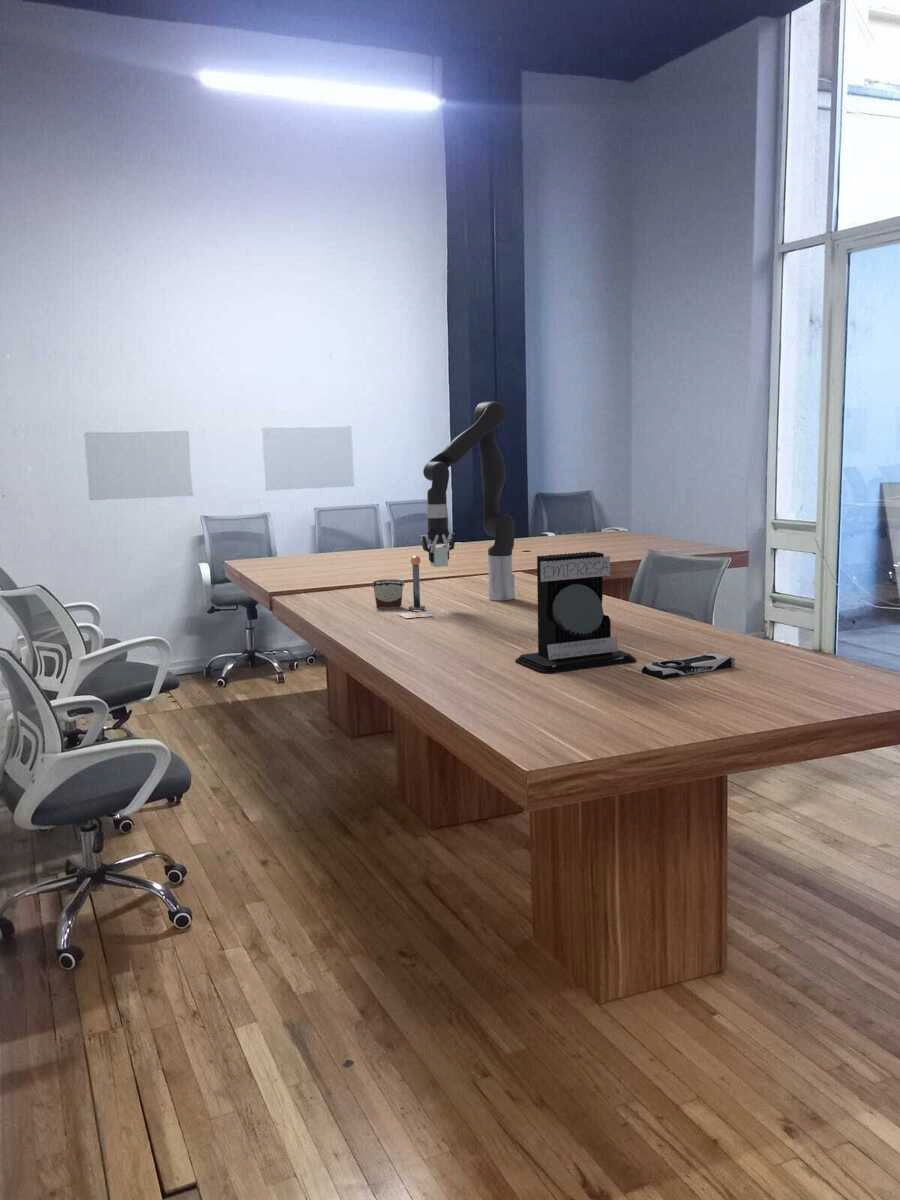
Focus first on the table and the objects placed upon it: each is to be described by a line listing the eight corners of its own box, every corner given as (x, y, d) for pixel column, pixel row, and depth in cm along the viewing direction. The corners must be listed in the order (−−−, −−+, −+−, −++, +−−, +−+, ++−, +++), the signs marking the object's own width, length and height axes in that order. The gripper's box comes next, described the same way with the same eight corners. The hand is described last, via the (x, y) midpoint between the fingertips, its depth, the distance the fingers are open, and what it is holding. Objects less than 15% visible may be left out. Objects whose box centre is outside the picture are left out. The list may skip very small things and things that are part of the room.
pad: (422, 612, 369) (422, 611, 369) (433, 616, 360) (433, 615, 360) (397, 614, 365) (396, 613, 365) (406, 619, 356) (406, 618, 356)
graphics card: (735, 656, 272) (662, 668, 261) (735, 669, 273) (662, 681, 261) (709, 650, 281) (637, 661, 269) (708, 662, 282) (637, 674, 270)
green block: (443, 564, 381) (442, 545, 380) (448, 565, 376) (447, 547, 375) (430, 565, 379) (429, 546, 378) (435, 567, 374) (434, 548, 373)
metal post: (421, 608, 378) (420, 554, 375) (427, 610, 373) (426, 556, 370) (406, 609, 376) (404, 555, 373) (412, 611, 371) (410, 557, 367)
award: (543, 675, 270) (542, 563, 265) (511, 661, 287) (509, 556, 282) (640, 662, 282) (640, 555, 277) (604, 649, 299) (603, 548, 294)
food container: (407, 604, 386) (406, 578, 385) (405, 607, 380) (404, 581, 379) (375, 605, 388) (374, 579, 386) (372, 607, 382) (371, 581, 380)
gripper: (451, 514, 381) (453, 559, 383) (415, 516, 375) (417, 562, 378) (459, 515, 374) (460, 561, 377) (423, 518, 368) (424, 564, 371)
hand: (439, 561), depth 377 cm, fingers closed on green block, 5 cm apart
